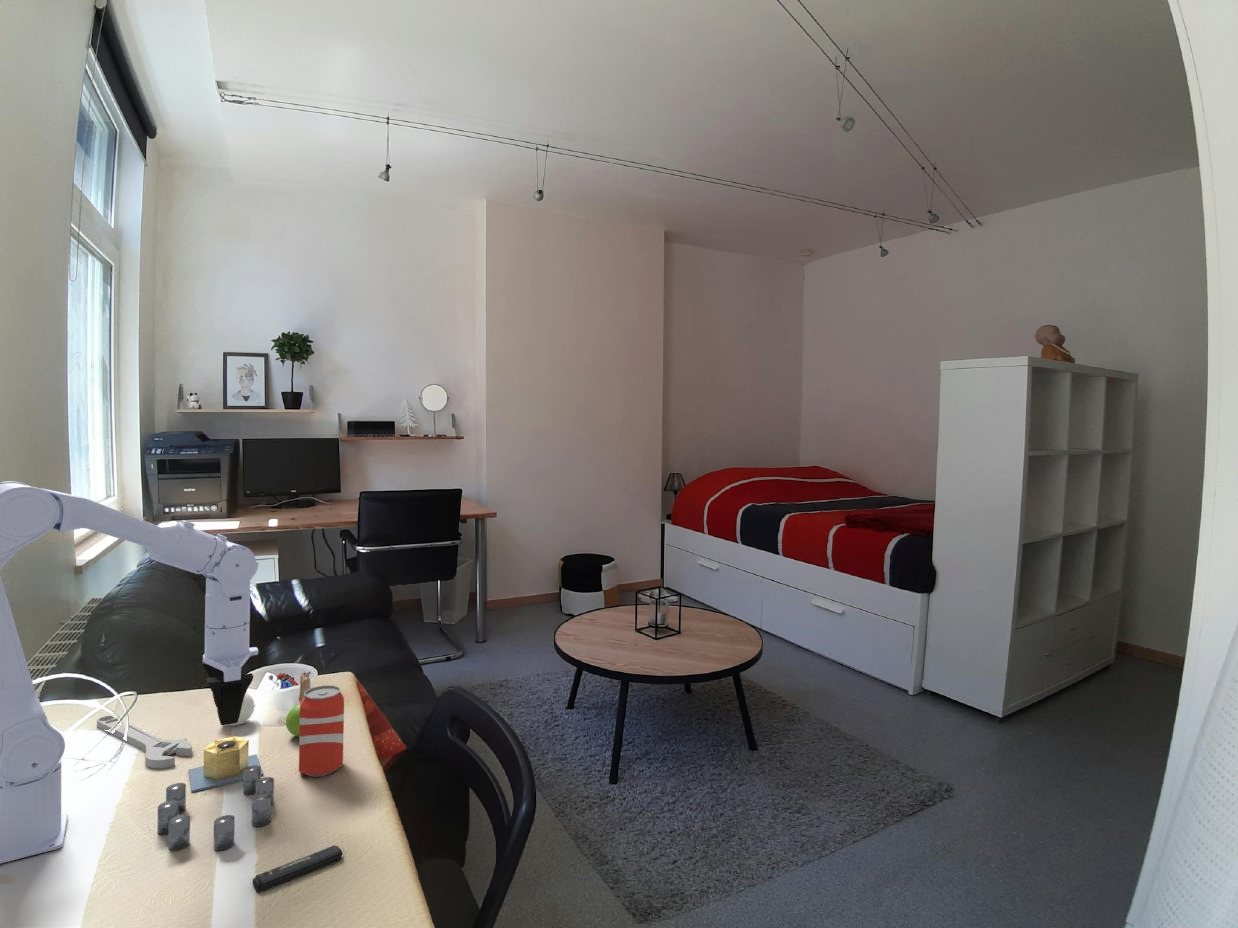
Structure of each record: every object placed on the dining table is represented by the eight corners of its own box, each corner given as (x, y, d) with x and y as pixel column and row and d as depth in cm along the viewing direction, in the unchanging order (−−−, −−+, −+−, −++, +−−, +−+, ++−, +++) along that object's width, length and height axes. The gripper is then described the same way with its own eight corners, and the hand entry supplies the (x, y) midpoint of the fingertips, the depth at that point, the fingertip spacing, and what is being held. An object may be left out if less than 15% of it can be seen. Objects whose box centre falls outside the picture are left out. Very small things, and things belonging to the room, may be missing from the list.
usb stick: (336, 852, 82) (336, 840, 81) (344, 862, 80) (344, 850, 80) (251, 885, 75) (251, 872, 75) (257, 898, 73) (257, 884, 73)
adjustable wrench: (93, 728, 113) (93, 717, 113) (137, 716, 118) (137, 706, 118) (153, 773, 98) (154, 761, 98) (201, 757, 104) (201, 746, 103)
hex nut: (204, 783, 95) (205, 756, 95) (202, 768, 99) (202, 742, 99) (250, 772, 98) (250, 746, 98) (246, 758, 102) (246, 733, 102)
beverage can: (342, 756, 105) (343, 681, 104) (343, 775, 99) (344, 696, 99) (299, 762, 102) (301, 686, 102) (298, 782, 96) (299, 701, 96)
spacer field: (159, 869, 77) (159, 842, 77) (156, 811, 88) (156, 787, 88) (284, 832, 84) (284, 808, 84) (267, 783, 96) (267, 761, 96)
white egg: (259, 724, 115) (260, 692, 115) (223, 734, 111) (224, 701, 111) (243, 711, 120) (244, 680, 120) (208, 720, 116) (208, 688, 116)
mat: (191, 792, 93) (191, 790, 93) (188, 771, 99) (188, 769, 99) (263, 774, 98) (263, 773, 98) (256, 755, 104) (256, 753, 104)
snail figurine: (287, 747, 107) (288, 674, 107) (284, 731, 113) (285, 662, 112) (323, 740, 110) (324, 669, 109) (319, 725, 115) (320, 657, 115)
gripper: (265, 632, 94) (264, 725, 95) (251, 608, 106) (250, 692, 106) (207, 639, 90) (206, 737, 90) (199, 614, 102) (198, 701, 102)
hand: (226, 713), depth 98 cm, fingers open, 7 cm apart
